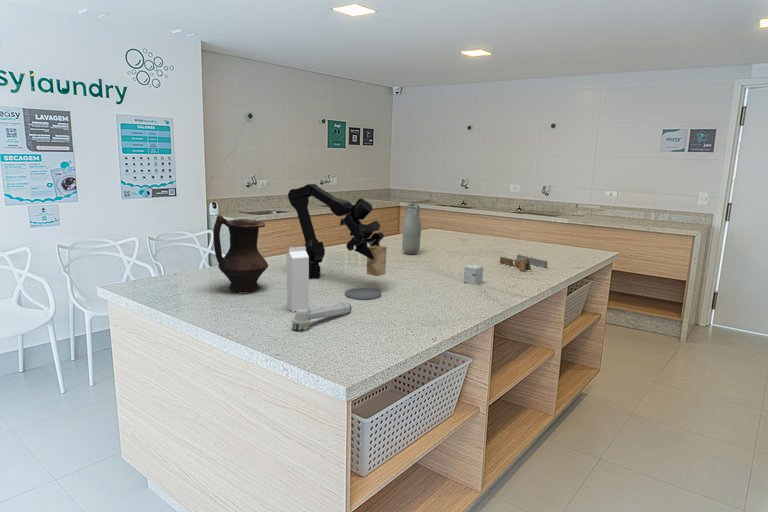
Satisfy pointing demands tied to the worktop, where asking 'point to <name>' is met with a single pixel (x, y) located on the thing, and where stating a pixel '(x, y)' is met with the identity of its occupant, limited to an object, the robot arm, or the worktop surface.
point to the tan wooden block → (377, 261)
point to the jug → (240, 253)
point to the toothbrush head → (318, 314)
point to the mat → (363, 294)
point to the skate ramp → (524, 262)
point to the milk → (297, 279)
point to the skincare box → (473, 274)
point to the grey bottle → (411, 229)
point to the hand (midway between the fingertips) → (377, 257)
